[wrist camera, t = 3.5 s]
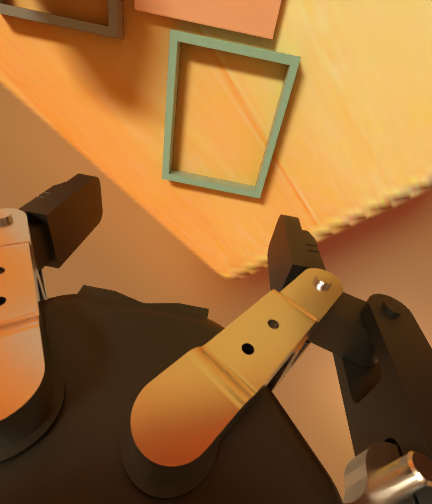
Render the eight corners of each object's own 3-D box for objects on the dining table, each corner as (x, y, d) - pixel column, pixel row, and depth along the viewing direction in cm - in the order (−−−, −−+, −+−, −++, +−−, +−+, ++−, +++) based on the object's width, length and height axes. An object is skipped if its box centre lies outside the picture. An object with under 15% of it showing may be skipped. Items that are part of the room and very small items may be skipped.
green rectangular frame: (298, 57, 25) (301, 57, 23) (259, 193, 32) (259, 198, 31) (174, 30, 24) (170, 29, 23) (165, 174, 32) (162, 178, 31)
